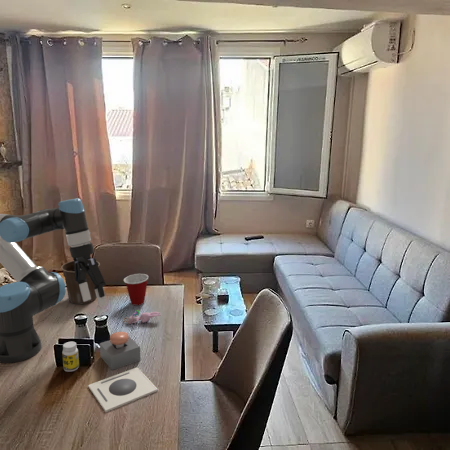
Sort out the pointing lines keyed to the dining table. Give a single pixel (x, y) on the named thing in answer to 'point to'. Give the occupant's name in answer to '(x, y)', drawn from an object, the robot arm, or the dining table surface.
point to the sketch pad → (122, 389)
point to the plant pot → (76, 284)
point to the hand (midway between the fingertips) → (95, 303)
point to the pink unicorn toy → (143, 317)
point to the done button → (119, 339)
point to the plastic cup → (136, 288)
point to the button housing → (119, 354)
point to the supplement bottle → (70, 356)
